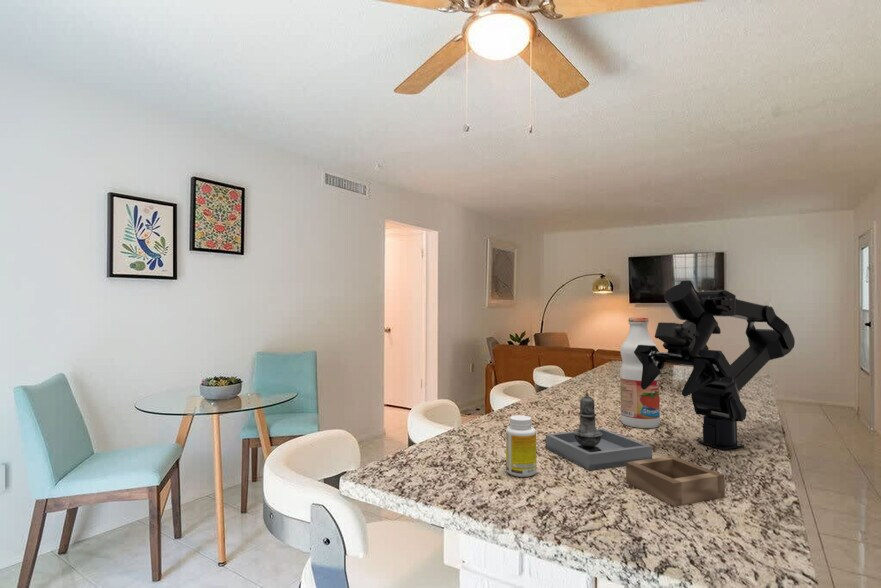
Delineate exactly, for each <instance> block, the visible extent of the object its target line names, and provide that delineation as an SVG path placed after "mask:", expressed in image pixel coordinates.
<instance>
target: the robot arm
mask: <svg viewBox="0 0 881 588" xmlns="http://www.w3.org/2000/svg"><path fill="white" fill-rule="evenodd" d="M663 299H664V301H665V302H666V303H667V305H668V307H669V308H670V309H671V311H672V312H673V314H674V315H675V317H676V318H677V319H679V320H681V321H683V322H682V323H677V322H658V323H657V326H656V329H655V333H654V338H655V339H658V340H660V341H661V342H663V344H662V347H663V348H664V349H665V350H667V352H664V351H659V349H658V347H657V348H656V346H657V345H656V346H652V345H638V346H637V348H636V349H635V351H634V354H635V355H636V356H637V358H638V359H639V361H640V362H641V363H642V365H643V371H642V379H641V388H642V389H643V390H645V389H646V388H647V387H648V386H649V385H650V384H651V383H652V382H653V381H654V380H655V379H656V377H657V376H658V375H659V376H660V374H661V373H662V371H661V370H663V368H664V366H665V363H666V364H673V365H675V364H676V365H678V366H684V367H685V366H686V367H690V368H691V367H692V371H691V373H690V375H689V376H688V379H687V380H686V382H685V384H684V386H683V389H682V391H681V394H682V396H683V397H684V398H687V397H688V396H690V395H691V401H692V404H693V409H694V413H695V415H697V416H698V415H699V416H702V417H703V422H702V439H698V440H697V443H699V444H700V443H701V444H703V445H706V446H710V447H713V448H716V449H719V450H724V451H725V450H731V449H739V448H744V447H745V445H744V444H743V443H740V442H738V422H739V423H741V422H744V421H745V420H746V418H747V408H746V406H744V404H743V402H742V401H741V396H740V391H741V390H742V389H743V388H744V387H745V386H746V384H748V383H749V382H750V380H752V379H753V377H755V376H756V375H757V374H758V372H759V371H761V370H762V369H763V367H764V366H766V365H767V364H768V362H769V361H772V360H773V361H774V360H777V359H780V358H783V357H785V356H786V355H788V354H789V353H791V352H792V351H793V349H794V347H795V344H796V343H795V342H796V341H795V337H794V334H793V332H792V330H791V328H790V325H789V324H788V323H787V322H786V321H784V319H782V318H781V317H779V316H778V315H777V314H776V312H775V310H774V308H773V307H772V306H769V305H763V304H758V303H754V302H750V301H746V300H742V299H738V298H737V297H736V294H734V293H732V292H730V291H729V290H727V289H726V290H725V289H723V290H696V288H695V286H694V284H693V283H692V280H691V279H690V280H681V281H680V283H678V284H676V285H674V286H672V287H671V288H669V289H667V290H666V291H665V292H664V295H663ZM715 317H730V318H735V319H742V320H744V321H746V322H747V325H746V330H745V335H746V336H747V337H746V338H747V341H748V345H749V346H748V347H747V348H746V349H745V350H744V351H743V352H742V353H741V354H740V355H739V356H738V357H737V358H736V359H734V360H733V362H732V363H731V364H730V363H729V361H728V359H727V358H726V356H725V354H724V353H723V351H722V350H717V349H715V350H714V349H710V347H708V345H707V344H708V342H709V340H710V338H711V336H712V334H713V335H721V333H722V332H721V331H722V330H721V328H720V326H719V322H718V320H716V318H715ZM755 323H766V324H767V325H768V326H769V327H770V329H768V328H764V329H763V328H756V327H755ZM771 328H772V329H771Z"/></svg>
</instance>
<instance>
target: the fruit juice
mask: <svg viewBox="0 0 881 588" xmlns="http://www.w3.org/2000/svg"><path fill="white" fill-rule="evenodd" d="M627 322H628V324H629V330H628V334H627V337H626V339H625V340H624V341H623V343H622V344H621V346H620V357H621V359H622V360H621V361H622V363H621V365H620V373H619V375H620V377H619V378H620V380H619V381H620V382H619V383H620V388H619V389H620V420H621V423H622V424H623V425H624V426H627V427H631V428H636V429H637V428H638V429H655V428H658V427H659V426H660V424H661V418H660V416H661V415H660V414H661V412H660V411H661V410H660V409H661V407H660V402H661V401H660V374H659V375H658V376H657V377H656V379H655V380H654V381H653V382H652V383H651V384H650V385H649V386H648V387H647V388H646V389H645V390H643V389H642V388H641V379H642V371H643V365H642V363H641V362H640V361H639V359H638V358H637V356H636V355H635V354H634V351H635V349H636V348H637V346H638V345H652V346H656V348H657V349H658V346H657V345H656V343H655V342H654V341H653V340H652V338H651V336H650V333H649V329H648V324H649V317H638V316H636V317H628V320H627Z"/></svg>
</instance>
